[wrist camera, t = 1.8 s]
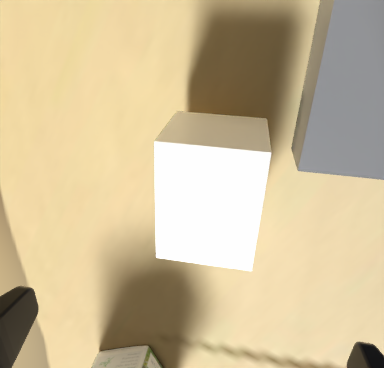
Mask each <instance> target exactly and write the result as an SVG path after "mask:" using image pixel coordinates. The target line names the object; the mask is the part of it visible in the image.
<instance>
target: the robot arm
mask: <svg viewBox="0 0 384 368" xmlns="http://www.w3.org/2000/svg"><path fill="white" fill-rule="evenodd" d="M37 314H38V303H37V299H36V296H35V292H34V290H33V289H32V288H30V287H24V286H18V287H16V288H14V289H12V290H11V291H9V292H7V293H5V294H4V295H2V296H0V368H12V366H13V364H14V362H15V360H16V358H17V356H18V354H19V352H20V350H21V348H22V345H23V343H24V341H25V339H26V337H27V335H28V333H29V331H30V329H31V327H32V324H33V323H34V321H35V318H36V316H37ZM347 368H384V355H383V354H382V353H381V352H380V351H379V349H378V348H377V347H376V346H375V345H373V344H370V343H364V342H356V343H355V345H354V347H353V349H352V352H351V354H350V356H349V359H348V362H347Z"/></svg>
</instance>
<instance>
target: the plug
mask: <svg viewBox="0 0 384 368" xmlns="http://www.w3.org/2000/svg"><path fill="white" fill-rule="evenodd" d="M271 153H272V152H271V144H270V137H269V130H268V122H267V118H255V117H243V116H231V115H219V114H207V113H195V112H184V111H177V112H176V113H175V114H174V115H173V117H172V118H171V119H170V121H169V122H168V123H167V125H166V126H165V127H164V129H163V130H162V131H161V133H160V134H159V135H158V137H157V138H156V139H155V141H154V168H155V225H156V258H162V259H169V260H176V261H183V262H190V263H197V264H204V265H211V266H218V267H225V268H232V269H239V270H246V271H252V267H253V261H254V255H255V249H256V243H257V237H258V231H259V225H260V219H261V213H262V207H263V201H264V195H265V189H266V183H267V177H268V171H269V165H270V159H271Z"/></svg>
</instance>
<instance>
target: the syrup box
mask: <svg viewBox="0 0 384 368" xmlns="http://www.w3.org/2000/svg"><path fill="white" fill-rule="evenodd" d="M91 368H163V367H162V365H161V364H160V362H159V361H158V359H157V358H156V356H155V355H154V353H153V352H152V350H151V349H150V347H149V346H146V345H145V346H133V347H126V348H119V349H113V350H106V351H100V352H99V353H98V354H97V356H96V358H95V360H94V362H93V365H92V367H91Z"/></svg>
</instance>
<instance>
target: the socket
mask: <svg viewBox="0 0 384 368" xmlns="http://www.w3.org/2000/svg"><path fill="white" fill-rule="evenodd" d="M291 149H292V152H293V156H294V159H295V163H296V166H297V170H298V171H304V172H313V173H323V174H333V175H343V176H352V177H362V178H372V179H381V180H384V0H320V5H319V10H318V15H317V20H316V26H315V31H314V36H313V41H312V46H311V51H310V56H309V61H308V66H307V71H306V76H305V81H304V87H303V92H302V97H301V102H300V107H299V112H298V117H297V122H296V127H295V132H294V137H293V143H292V148H291Z"/></svg>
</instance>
